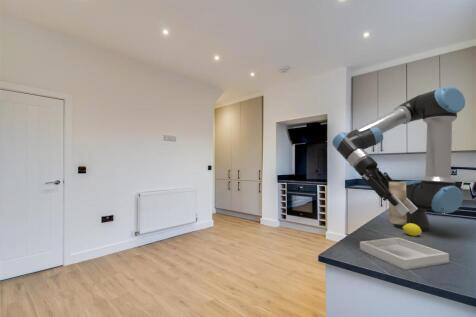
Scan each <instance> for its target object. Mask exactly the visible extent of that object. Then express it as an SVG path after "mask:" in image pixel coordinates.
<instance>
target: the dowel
mask: <svg viewBox="0 0 476 317" xmlns="http://www.w3.org/2000/svg"><path fill="white" fill-rule="evenodd" d="M389 191H390V192H391V194H392V195H395V196H396V197H397V198H398V199H399V200H400V201H401V202H402V203H403V204H404V205H405V206H406V182H401V181H394V182H389ZM392 195H391V196H392ZM388 209H389V210H388V213H389V215H388V216H389V219H388V220H389V223H390V224H401V225H404V224H407V213H406V214H404V215H403V216H402V215H401V214H400V213H399V212H398V211H397V210H396V209H395V208H394V206H393V205H392V204H391V203H390V202H389V201H388Z"/></svg>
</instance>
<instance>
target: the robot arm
mask: <svg viewBox="0 0 476 317" xmlns="http://www.w3.org/2000/svg"><path fill="white" fill-rule="evenodd" d="M465 105H466V99H465V96H464V93H462V92H461V91H460V90H459V88H456V87H454V86H445V87H440V88H437V89H435V90H432V91H428V92H425V93H423V94H418V95H416V96H415V97H411V99H408V100H407V101H405V102H403V103H402V104H400V105H398V106H396V107H394V109H393V110H392V111H390V112H388V113H386V114H384V115H382V116H380V117H378V118H376V119H374V120H371V121H370V122H367V123H366V124H364V125H363V124H362V126H360V127H358V128H355V129H354V130H352V131H349V132H340V133H338V134H337V135H335V136H334V137H333V139H332V141H331V143H332V146H333V147H334V148H335V150H336V151H337V152H338V153H339V154H340V155H341V156H342V157H343V159H344V160H346V161H347V162H348V164H349V166H350V167H352V168H353V169H354V170H355V172H357V174H358V175H359V176H361V179H362V180H363V181H364V182H366V183H367V185H368V186H369V187H370V189H372V190H373V191H374V192H375V193H376V194H377V196H378V197H379V198H380V199H382V201H384V202H385V201H388V203H389V202H390V203H391V204H392V205H393V206H394V208H395V209H396V210H397V211H398V212H399V213H400V214H401V215H402V216H403V215H404V214H406V213H407V224H408V223H413V224H416V225H417V226H419V227H420V229H421V231H422V232H429V231H431V230H432V225H431V223H430V220H429V217H428V215H427V211H428V210H429V211H433V212H435V213H443V214H444V213H445V214H451V213H454V212H456V211H457V210H458V209H460V207H461V206H462V203H463V200H464V196H463V192H462V190H461V189H460V188H459V187H457V186H456V181H455V180H454V179H453V178H452V143H453V142H452V138H453V136H452V135H453V133H452V132H453V122H455V121H456V120H457V119H458V113H460V112H461V111H462V110H463V109H464V108H465ZM420 120H422V121H423V122H424V123H426V148H425V149H426V150H425V151H426V153H425V155H426V156H425V176H424V177H423V178H422V179H421V180H405V181H403V180H401V181H400V182H406V206H405V205H404V204H403V203H402V202H401V201H400V200H399V199H398V198H397V197H396V196H395V195H392V194H391V192H390V191H389V182H395V181H394V179H392V177H390V175H389V174H388V173H387V172H386V171H384V172H382V171H380V170H379V169H378V163H377V161H376V160H375V159H374V158H372V157H371V156H370V154H369V153H367V151H366V149H369V148H371V147H373V146H377V145H378V144H380V143H382V141H383V140H384V133H386V132H388V131H390V130H393V129H395V128H396V127H399V126H401V125H407V124H409V123H412V122H415V121H420ZM391 195H392V196H391ZM392 224H393V223H392ZM404 225H406V224H404ZM404 225H401V224H393V227H395V228H397V229H401V230H404V229H403V228H402V227H403V226H404Z"/></svg>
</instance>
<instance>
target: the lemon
mask: <svg viewBox="0 0 476 317" xmlns="http://www.w3.org/2000/svg"><path fill="white" fill-rule="evenodd" d="M402 228H403V229H402V230H403V231H404V232H405V233H406V234H407V235H409V236H411V237H419V235H420V234H422V233H423V231H421V229H420V227H419V226H417V225H416V224H413V223H408V224H406V225H404V226H403V227H402Z"/></svg>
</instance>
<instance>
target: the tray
mask: <svg viewBox="0 0 476 317" xmlns="http://www.w3.org/2000/svg"><path fill="white" fill-rule="evenodd" d="M359 250H360V251H362V252H364V253H366V254H368V255H371V256H373V257H375V258H378V259H379V260H382V261H384V262H386V263H388V264H391V265H392V266H395V267H397V268H400V269H401V270H404V271H408V270H414V269H420V268H421V269H422V268H427V267H432V266H434V267H435V266H441V265H444V264H449V263H450V254H449V253H448V252H446V251H445V252H444V251H442V250H439V249H435V248H433V247H429V246H427V245H423V244H420V243H417V242H413V241H412V240H411V241H410V240H408V239H404V238H402V237H399V236H398V237H388V238H381V239H379V238H378V239H372V240H364V241H363V240H362V241H359Z"/></svg>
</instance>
